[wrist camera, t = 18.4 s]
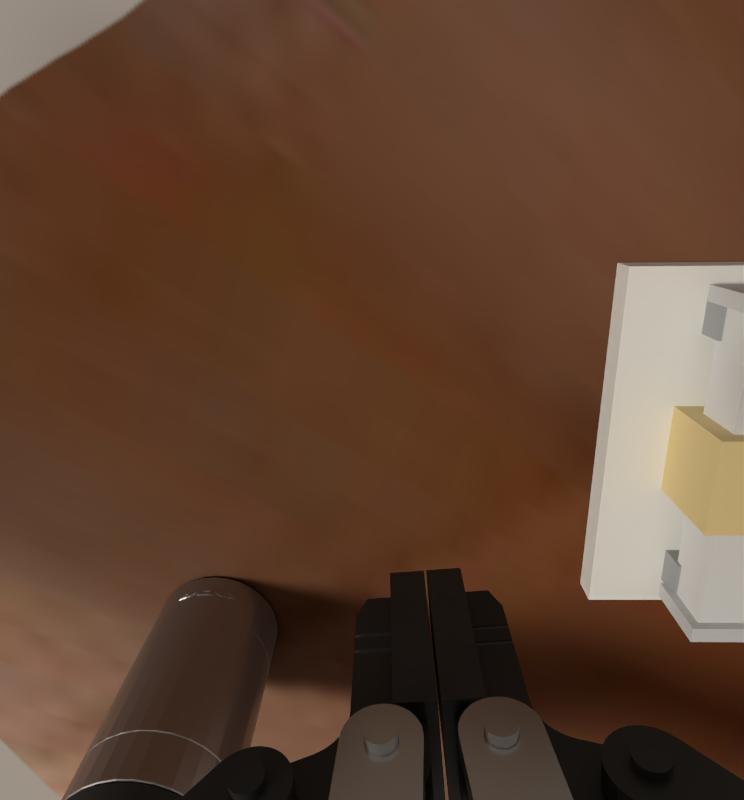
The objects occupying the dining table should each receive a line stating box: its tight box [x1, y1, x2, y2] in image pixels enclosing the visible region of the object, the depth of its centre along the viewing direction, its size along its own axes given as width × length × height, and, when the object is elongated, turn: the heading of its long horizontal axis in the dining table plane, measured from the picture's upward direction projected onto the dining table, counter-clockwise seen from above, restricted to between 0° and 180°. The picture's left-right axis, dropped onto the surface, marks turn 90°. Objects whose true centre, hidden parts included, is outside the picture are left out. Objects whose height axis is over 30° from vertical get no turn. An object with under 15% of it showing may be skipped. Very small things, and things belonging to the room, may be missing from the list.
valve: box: [580, 262, 744, 642], centre depth 38 cm, size 24×14×10 cm, turn 1°
